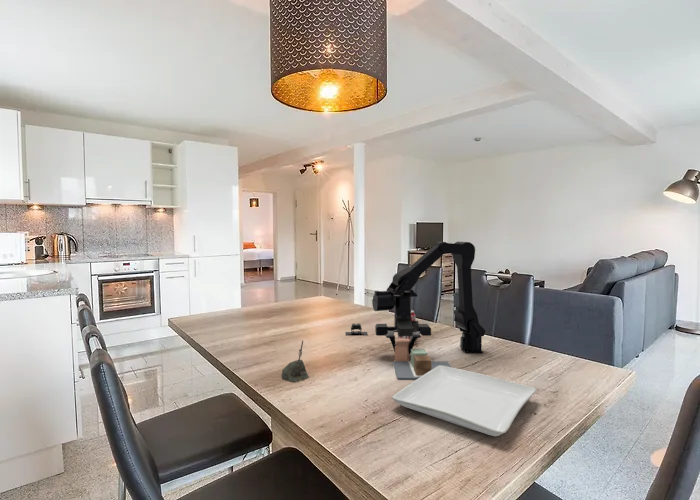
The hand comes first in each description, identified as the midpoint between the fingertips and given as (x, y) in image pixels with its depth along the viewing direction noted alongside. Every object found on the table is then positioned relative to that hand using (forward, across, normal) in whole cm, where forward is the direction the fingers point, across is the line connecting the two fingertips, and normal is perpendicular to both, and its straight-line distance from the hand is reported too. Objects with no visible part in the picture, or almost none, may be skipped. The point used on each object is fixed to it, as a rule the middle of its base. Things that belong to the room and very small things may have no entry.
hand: (402, 353), depth 132 cm
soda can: (+1, +4, +19) cm, 19 cm away
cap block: (+1, 0, 0) cm, 1 cm away
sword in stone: (+2, -35, -17) cm, 39 cm away
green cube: (0, +4, -10) cm, 10 cm away
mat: (+1, +5, -13) cm, 14 cm away
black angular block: (+2, -16, +29) cm, 33 cm away
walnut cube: (0, +4, -16) cm, 16 cm away
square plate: (+1, +11, -36) cm, 38 cm away
